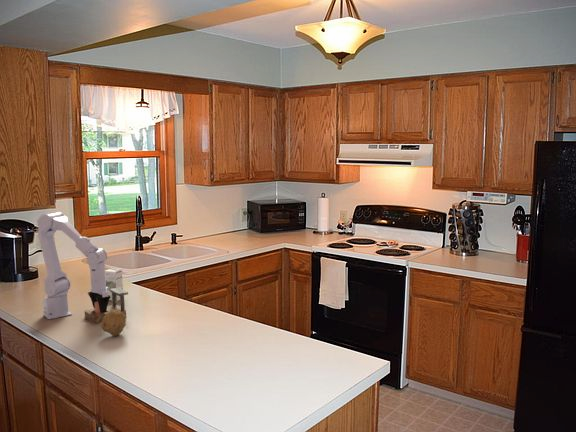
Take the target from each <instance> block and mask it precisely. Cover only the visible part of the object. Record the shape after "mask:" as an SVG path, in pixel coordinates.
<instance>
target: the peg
mask: <svg viewBox="0 0 576 432" xmlns="http://www.w3.org/2000/svg"><path fill="white" fill-rule="evenodd" d="M104 313H105V312H104ZM95 314H101V312H100V309H99V304H98V301H97V302H95Z"/></svg>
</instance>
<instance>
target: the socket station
mask: <svg viewBox="0 0 576 432" xmlns="http://www.w3.org/2000/svg"><path fill="white" fill-rule="evenodd" d="M110 292H112V301H111V302H112V305H107V310H106V312H105V313H101V314H95V309H94V308H92V309H87V310H84V318H85V319H86V320H88V321H89V322H90V323H92V324H93V325H98V324H101V322H102V320H103V318H104V316H105V314H106V313H108V312H109V311H112V310H117V311H121V312H122V313H123V314H124V315H125V317H126V318H127V309H126V308H125V296H126V295H129V292H128V291H127V290H125V289H124V288H123V289H121V288H119V287H118V288H112V289H110ZM116 295H118V296H120V300H119V301H120V303H119V304H120V306H119V305H118V304H117V301H116Z"/></svg>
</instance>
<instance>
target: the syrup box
mask: <svg viewBox="0 0 576 432" xmlns="http://www.w3.org/2000/svg"><path fill="white" fill-rule="evenodd" d="M105 281H106V287H109V289H107V292H108V295H110V296H111V297H110V299H109V301H110V302H112V292H110V289H112V288H118V287H119V288H121V289H123V290H124V284H123V283H124V282H123V269H122V268H109V269H105ZM118 300H119V301H120V296H118V295H116V302H119V301H118ZM109 301H108V302H109Z"/></svg>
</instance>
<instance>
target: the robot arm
mask: <svg viewBox="0 0 576 432" xmlns="http://www.w3.org/2000/svg"><path fill="white" fill-rule="evenodd" d="M36 222H37V226H38V228H37V229H38V230H37V236H38V239H39V244H40V247H41V248H40V249H41V253H42V257H43V261H44V264H45V269H46V272H47V274H46V276H45V277H44V280H43V282H44V286H43V290H44V292H45V294H46V295H47V296H44V297H43V298H42V306H43V307H42V309H43V316H44V317H45V318H46V319H47V320H51V319H52V320H53V319H57V318H62V317H63V318H64V317H67V316H72V313H71V312H70V311H69V303H68V302H69V301H68V293H69V290H70V288H71V281H70V279H69V277H68V276H67V273H66V272H64V271H63V270H62V267H61V263H60V259H59V255H58V252H57V251H58V250H57V246H56V242H55V238H54V235H55V233H56V232H57V231H61V232H62V233H64V234H65V236H67V237H68V238H70V239H71V240H72V241H73V242H74V243H75V248H76V249H78V251H80V252H81V253H82V254H83V255H84V256H85V257H86V258H85V259H86V260H85V261H86V262H87V264H88V268H89V272H90V274H89V275H90V286H89V289H90V290H89V291H88V292H87V295H88V296H89V298H90V300H91V303H92V307H93V309H95V302H97V301H98V304H99V309H100V312H101V313H104V312H106V310H107V306H109V305H108V303H109V299H110V297H111V296H110V295H108V292H107V289H109V287H106V279H105V271H106V268H105V267H106V264H105V263H106V261H107V259H108V254H107V252H106V250H105V249H104V248H102V247H101V248H99V247H98V246H97V245H95V244H94V243H93V242H92V241H91V239H90V237H87V236H82V235H81V234H80V233H79V231H78V230H77V229H76V228H75V227H74V226H73V225H72V223H70V221H69V218H68V216H66V215H65V214H64V213H63V212H61V211H55V212H52V213H44V214H41V215H40V216H39V217H38V219H36Z"/></svg>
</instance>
